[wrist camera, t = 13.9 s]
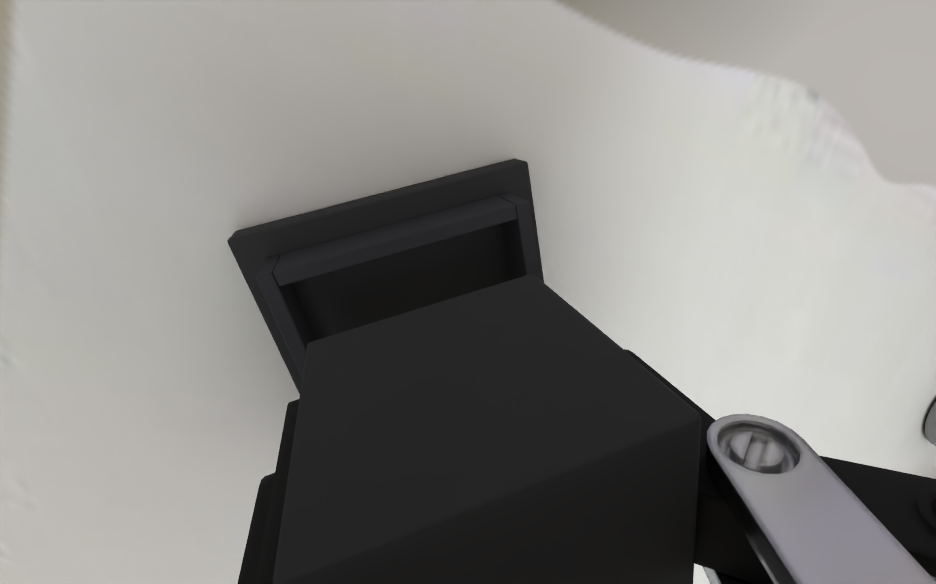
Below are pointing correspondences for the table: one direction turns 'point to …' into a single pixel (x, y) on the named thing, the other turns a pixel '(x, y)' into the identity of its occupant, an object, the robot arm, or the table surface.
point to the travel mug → (931, 425)
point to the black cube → (487, 453)
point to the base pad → (388, 254)
